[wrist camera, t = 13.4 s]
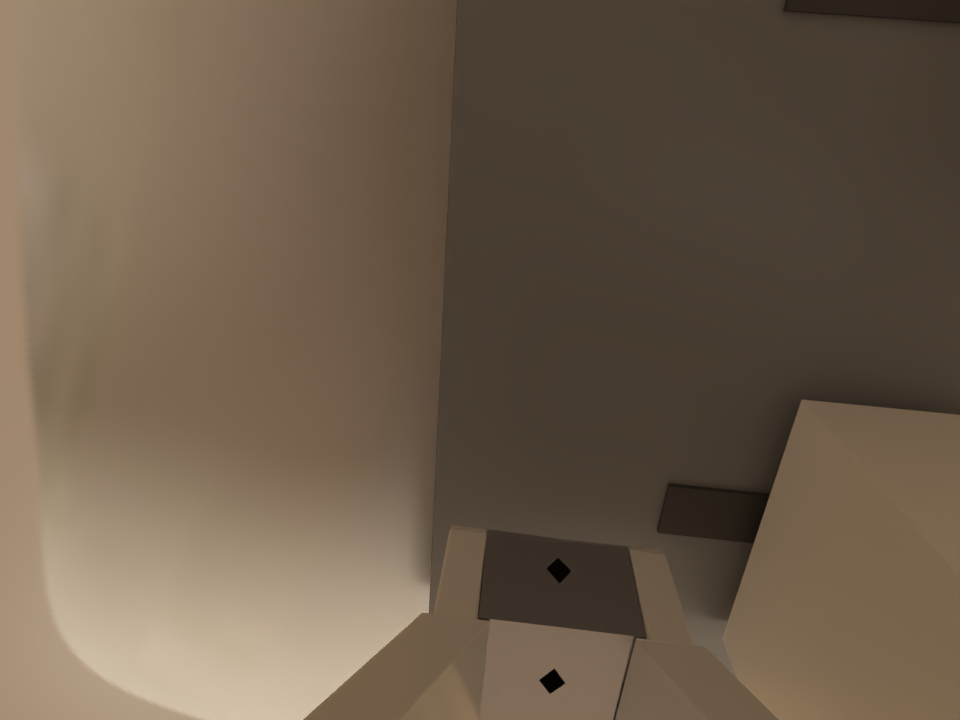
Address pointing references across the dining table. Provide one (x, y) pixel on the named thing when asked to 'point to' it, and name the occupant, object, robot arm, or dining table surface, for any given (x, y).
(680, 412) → the console
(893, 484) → the fader
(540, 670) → the robot arm
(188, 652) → the dining table surface
